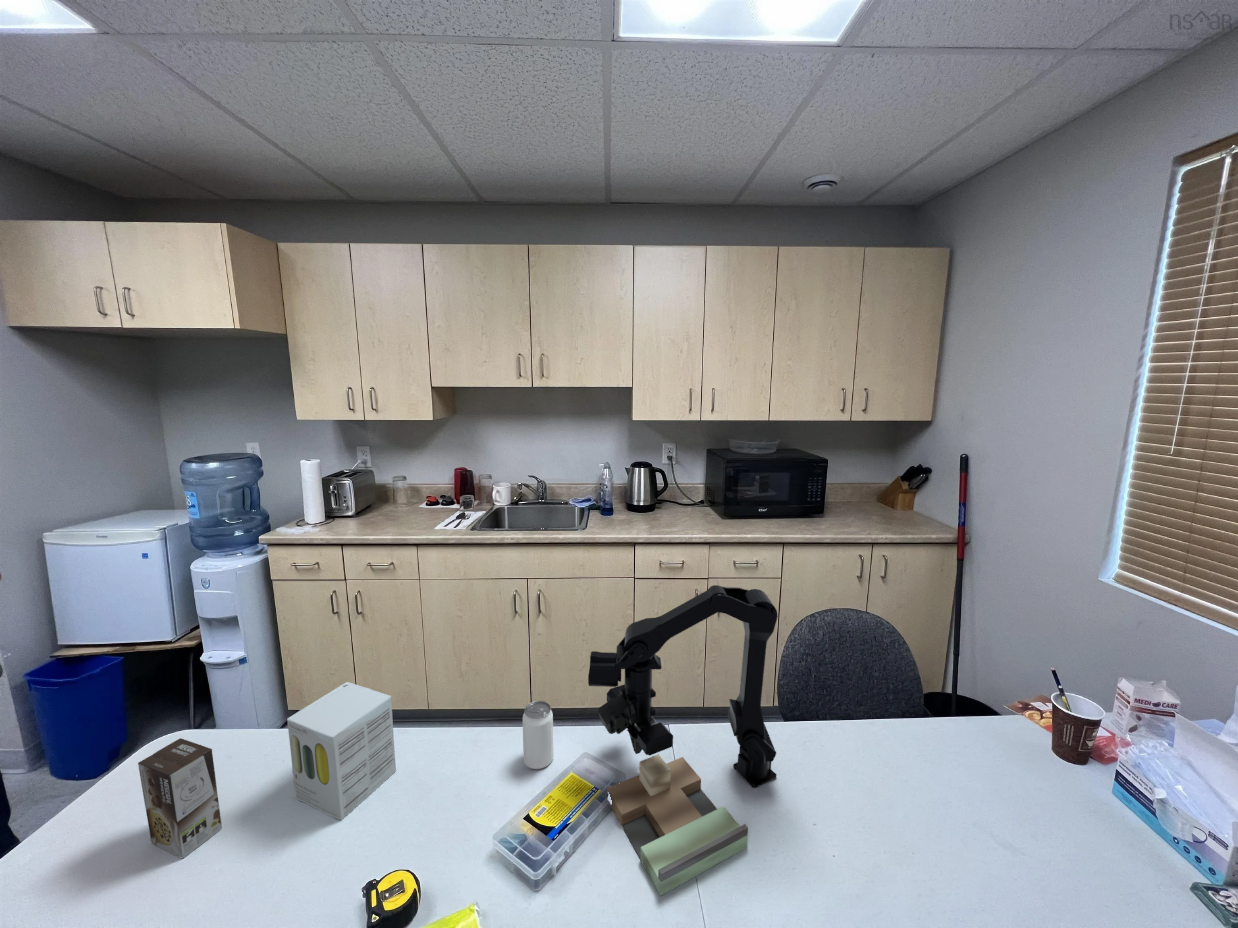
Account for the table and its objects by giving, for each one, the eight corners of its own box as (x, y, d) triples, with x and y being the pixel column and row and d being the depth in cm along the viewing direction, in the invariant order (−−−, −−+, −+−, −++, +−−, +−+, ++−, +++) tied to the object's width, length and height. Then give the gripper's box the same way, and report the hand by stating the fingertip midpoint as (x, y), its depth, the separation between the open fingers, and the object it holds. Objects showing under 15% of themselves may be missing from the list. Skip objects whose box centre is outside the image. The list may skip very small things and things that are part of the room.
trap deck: (606, 799, 91) (606, 781, 91) (682, 767, 99) (682, 750, 99) (660, 895, 74) (661, 873, 73) (747, 847, 82) (748, 827, 81)
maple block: (658, 771, 95) (658, 753, 95) (670, 787, 91) (670, 769, 91) (639, 779, 93) (639, 761, 93) (650, 796, 89) (651, 777, 89)
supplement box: (292, 799, 91) (284, 718, 88) (353, 752, 103) (347, 679, 101) (340, 822, 86) (332, 737, 84) (397, 770, 98) (392, 694, 96)
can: (547, 772, 98) (546, 721, 96) (518, 767, 99) (517, 716, 97) (557, 750, 104) (556, 701, 102) (530, 745, 105) (529, 697, 104)
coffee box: (224, 827, 85) (214, 748, 83) (181, 860, 79) (169, 775, 77) (192, 812, 88) (181, 735, 85) (148, 843, 82) (136, 761, 79)
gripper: (585, 671, 101) (585, 736, 103) (624, 725, 84) (623, 800, 87) (630, 658, 106) (629, 720, 108) (675, 707, 89) (673, 779, 92)
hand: (637, 752), depth 98 cm, fingers closed
